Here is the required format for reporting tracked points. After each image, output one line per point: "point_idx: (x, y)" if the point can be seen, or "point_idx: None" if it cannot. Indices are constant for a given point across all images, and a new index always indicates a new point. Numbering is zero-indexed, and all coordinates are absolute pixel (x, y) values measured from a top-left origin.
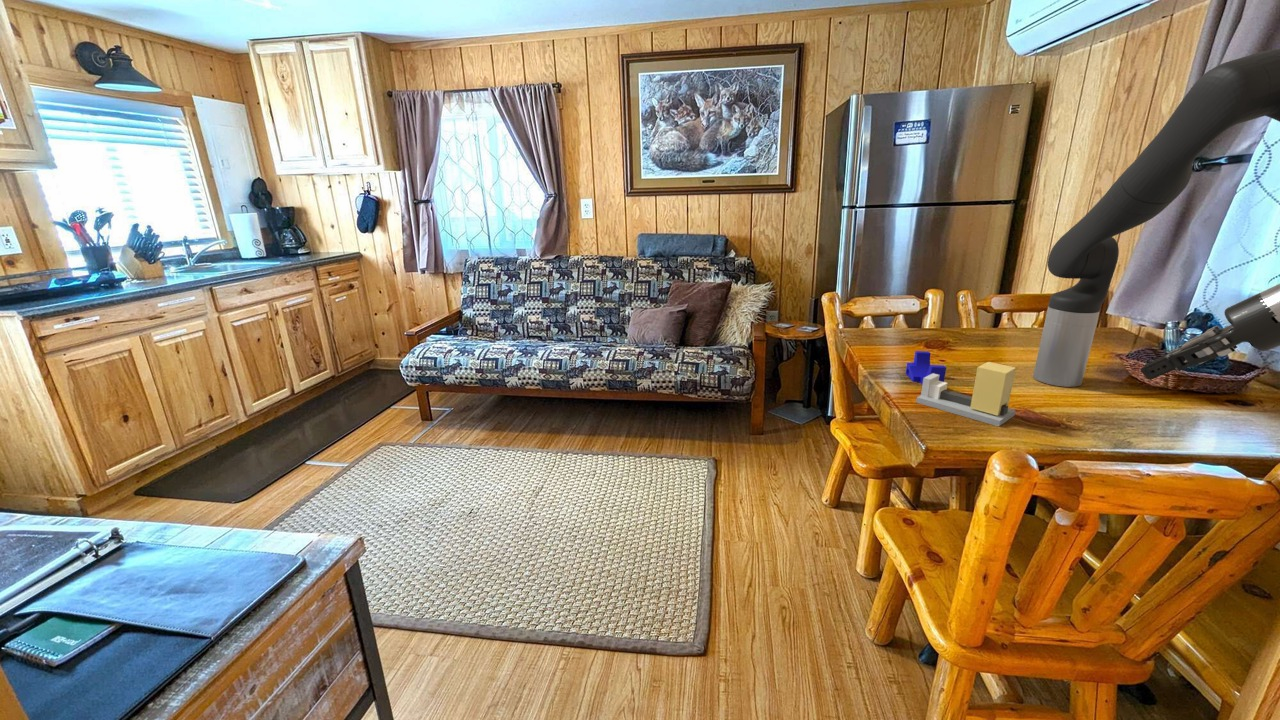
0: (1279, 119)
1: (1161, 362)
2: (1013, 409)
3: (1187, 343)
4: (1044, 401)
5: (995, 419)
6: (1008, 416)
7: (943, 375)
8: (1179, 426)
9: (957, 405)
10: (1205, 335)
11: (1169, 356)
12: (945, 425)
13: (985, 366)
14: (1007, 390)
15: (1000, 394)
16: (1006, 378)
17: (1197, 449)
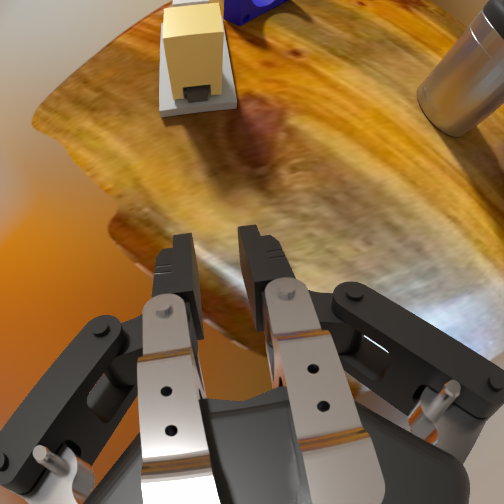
0: None
1: (160, 291)
2: (235, 99)
3: (143, 384)
4: (349, 116)
5: (160, 105)
6: (203, 107)
7: (240, 4)
8: (429, 288)
9: None
10: (145, 489)
11: (98, 324)
12: (105, 84)
13: (180, 10)
14: (197, 66)
15: (168, 70)
16: (172, 47)
17: None
